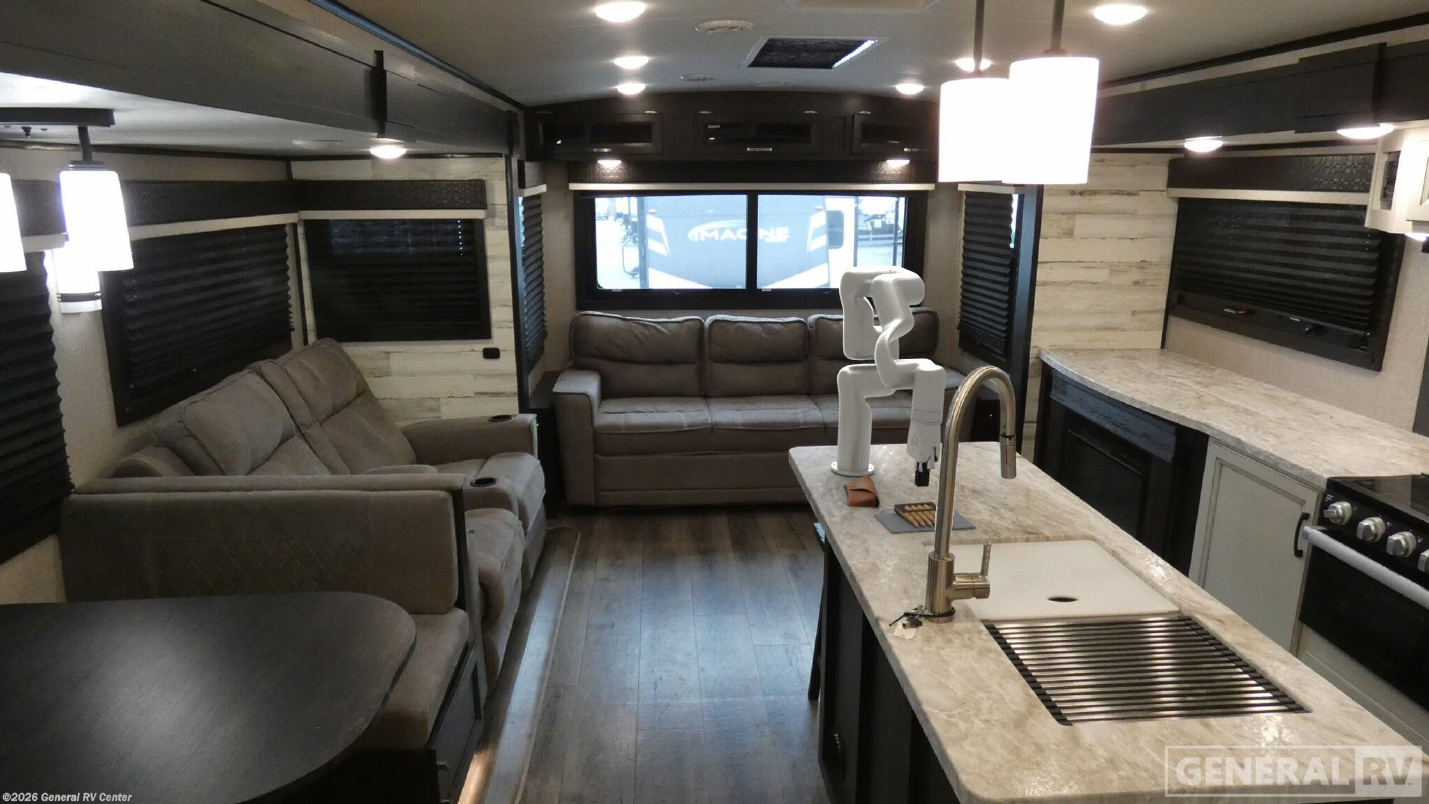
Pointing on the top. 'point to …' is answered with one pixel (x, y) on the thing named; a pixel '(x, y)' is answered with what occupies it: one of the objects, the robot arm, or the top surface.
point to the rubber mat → (902, 525)
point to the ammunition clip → (917, 513)
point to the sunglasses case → (862, 493)
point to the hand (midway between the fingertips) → (921, 485)
